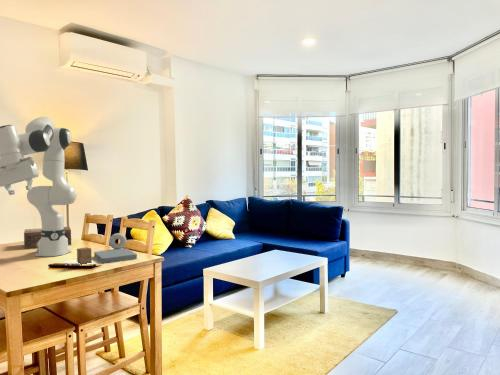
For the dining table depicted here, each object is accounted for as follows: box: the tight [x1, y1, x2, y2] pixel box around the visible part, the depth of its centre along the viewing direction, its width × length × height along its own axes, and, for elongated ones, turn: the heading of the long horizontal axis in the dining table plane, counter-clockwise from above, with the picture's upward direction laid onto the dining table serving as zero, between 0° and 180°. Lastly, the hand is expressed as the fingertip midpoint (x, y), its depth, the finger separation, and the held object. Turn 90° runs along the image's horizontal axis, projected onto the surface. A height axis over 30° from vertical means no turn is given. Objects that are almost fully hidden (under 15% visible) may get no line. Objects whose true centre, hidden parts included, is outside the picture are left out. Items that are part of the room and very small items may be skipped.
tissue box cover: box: [23, 226, 72, 250], centre depth 245 cm, size 26×14×10 cm, turn 118°
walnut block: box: [76, 246, 92, 265], centre depth 194 cm, size 5×5×9 cm
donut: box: [108, 232, 127, 250], centre depth 233 cm, size 10×3×10 cm, turn 108°
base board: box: [93, 247, 138, 264], centre depth 213 cm, size 18×18×2 cm
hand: (20, 192), depth 168 cm, fingers open, 8 cm apart
